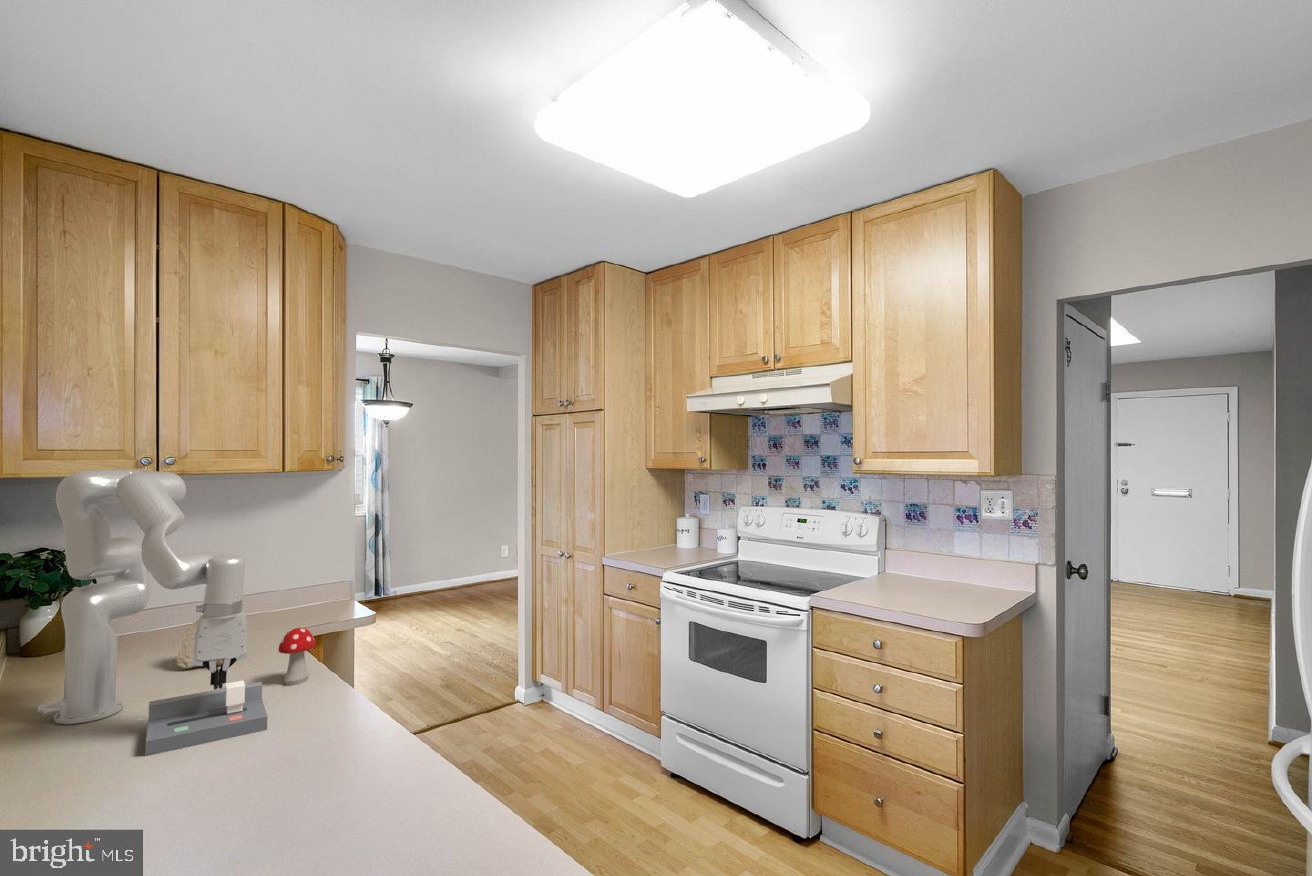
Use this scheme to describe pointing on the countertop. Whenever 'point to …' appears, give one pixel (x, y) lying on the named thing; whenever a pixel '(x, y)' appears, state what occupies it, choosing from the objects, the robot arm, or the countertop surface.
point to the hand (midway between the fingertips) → (217, 686)
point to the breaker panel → (202, 719)
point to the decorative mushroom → (296, 654)
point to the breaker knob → (235, 696)
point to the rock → (188, 649)
